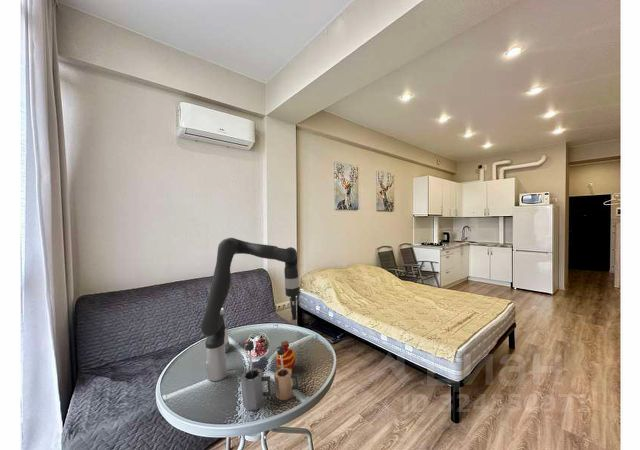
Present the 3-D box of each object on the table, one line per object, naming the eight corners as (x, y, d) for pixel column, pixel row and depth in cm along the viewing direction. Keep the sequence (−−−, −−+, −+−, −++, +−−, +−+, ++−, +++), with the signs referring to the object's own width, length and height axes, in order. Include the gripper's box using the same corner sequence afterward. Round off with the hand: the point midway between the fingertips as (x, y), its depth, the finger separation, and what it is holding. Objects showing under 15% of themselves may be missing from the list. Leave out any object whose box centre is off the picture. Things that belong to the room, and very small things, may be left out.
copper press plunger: (279, 382, 117) (276, 350, 116) (280, 377, 120) (277, 346, 119) (286, 381, 117) (283, 349, 116) (287, 376, 120) (284, 345, 119)
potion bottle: (293, 376, 130) (291, 348, 130) (274, 375, 133) (272, 347, 132) (299, 364, 141) (297, 338, 140) (281, 363, 143) (279, 337, 142)
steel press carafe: (241, 411, 110) (238, 382, 109) (247, 396, 119) (244, 369, 118) (270, 408, 110) (267, 379, 109) (273, 394, 119) (271, 367, 118)
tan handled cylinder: (275, 400, 115) (273, 379, 114) (278, 388, 122) (276, 368, 122) (298, 398, 115) (296, 377, 114) (299, 387, 122) (297, 366, 122)
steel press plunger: (247, 386, 112) (243, 345, 111) (249, 380, 116) (245, 341, 115) (256, 385, 112) (252, 344, 111) (258, 380, 116) (254, 340, 115)
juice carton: (214, 356, 156) (210, 313, 154) (214, 348, 166) (209, 308, 164) (229, 352, 159) (225, 310, 158) (228, 345, 169) (224, 305, 168)
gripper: (285, 282, 140) (287, 311, 141) (284, 290, 126) (287, 322, 127) (299, 281, 141) (301, 310, 142) (299, 289, 127) (302, 321, 127)
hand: (294, 316), depth 134 cm, fingers open, 8 cm apart
